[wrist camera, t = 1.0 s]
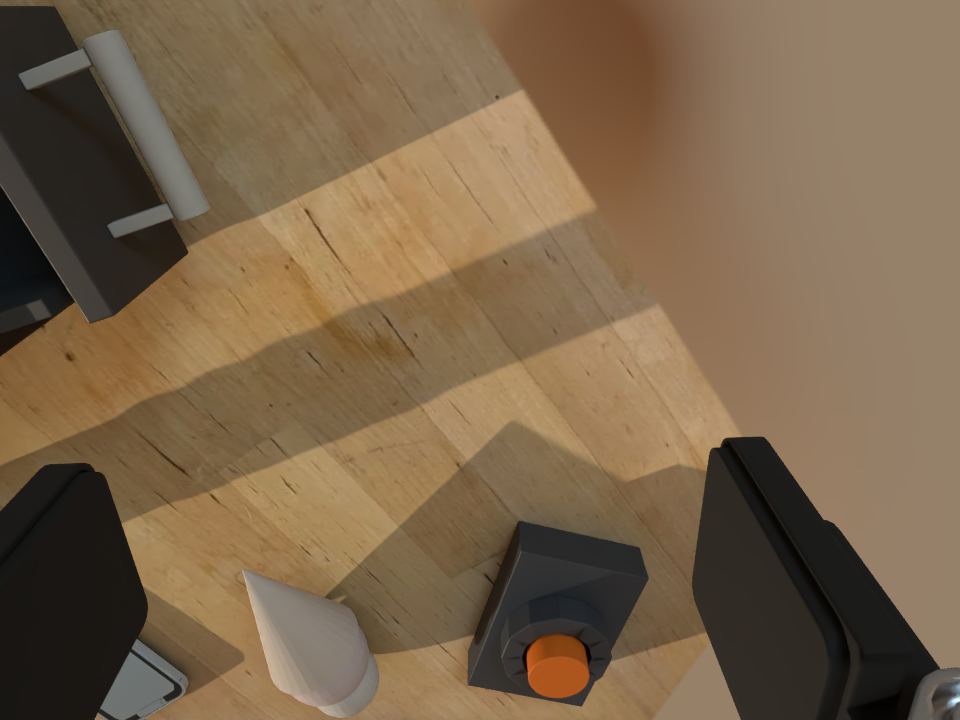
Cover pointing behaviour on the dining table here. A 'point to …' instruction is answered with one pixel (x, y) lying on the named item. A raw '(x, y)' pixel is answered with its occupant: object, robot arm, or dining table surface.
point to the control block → (554, 605)
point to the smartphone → (142, 686)
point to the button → (557, 665)
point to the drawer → (81, 174)
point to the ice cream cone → (313, 647)
